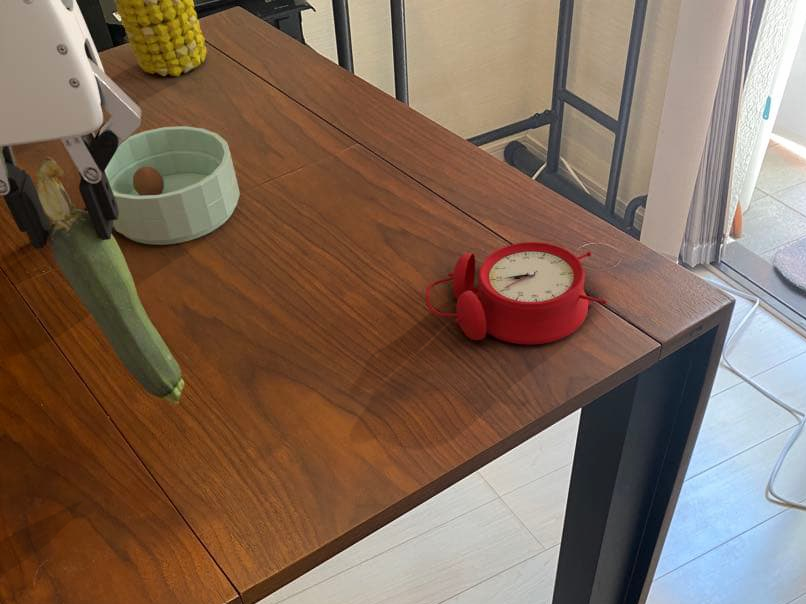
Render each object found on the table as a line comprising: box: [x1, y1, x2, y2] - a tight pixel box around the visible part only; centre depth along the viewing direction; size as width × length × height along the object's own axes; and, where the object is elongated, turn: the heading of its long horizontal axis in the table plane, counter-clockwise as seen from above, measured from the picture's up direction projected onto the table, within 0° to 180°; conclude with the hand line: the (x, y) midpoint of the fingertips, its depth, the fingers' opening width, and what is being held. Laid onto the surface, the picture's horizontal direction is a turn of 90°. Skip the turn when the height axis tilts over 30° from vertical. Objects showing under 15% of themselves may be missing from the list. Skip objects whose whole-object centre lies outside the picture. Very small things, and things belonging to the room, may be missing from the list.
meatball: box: [133, 167, 164, 196], centre depth 90 cm, size 3×3×3 cm
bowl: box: [105, 125, 241, 246], centre depth 89 cm, size 14×14×6 cm
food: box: [113, 0, 208, 77], centre depth 107 cm, size 15×12×10 cm
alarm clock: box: [425, 241, 607, 345], centre depth 75 cm, size 10×6×15 cm
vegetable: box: [35, 156, 185, 405], centre depth 61 cm, size 4×4×20 cm
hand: (74, 230), depth 58 cm, fingers closed on vegetable, 3 cm apart
